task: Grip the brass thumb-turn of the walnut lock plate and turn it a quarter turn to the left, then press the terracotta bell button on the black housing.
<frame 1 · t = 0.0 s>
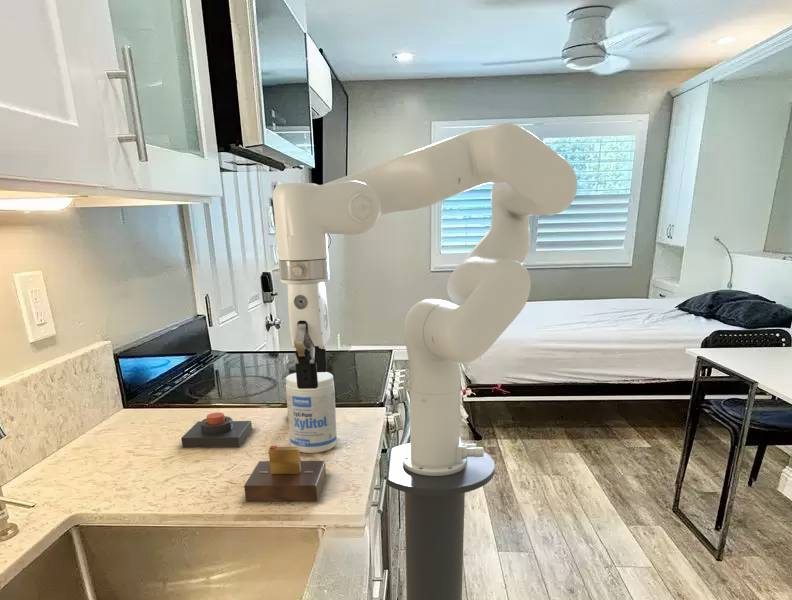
hand: (313, 379, 94), 19 cm above the worktop, tool pointing down, fingers open, 9 cm apart
bell button: (215, 419, 121), point 4 cm above the worktop, slide at 0.1 cm
thumb turn: (284, 459, 97), point 5 cm above the worktop, hinge at 0.0°
lock plate: (287, 488, 99), on the worktop
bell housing: (218, 438, 122), on the worktop
supplement tub: (314, 446, 117), on the worktop
supplement bottle: (303, 418, 134), on the worktop
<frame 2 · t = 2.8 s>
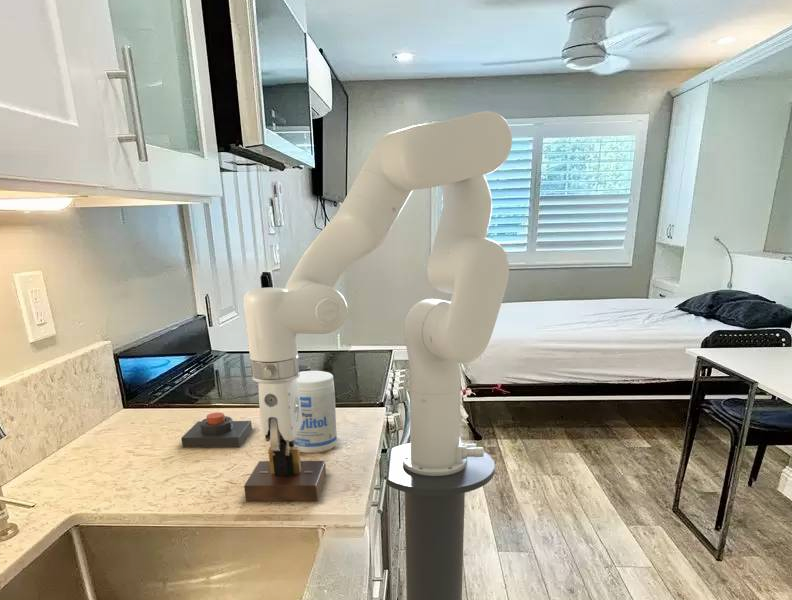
hand: (286, 471, 98), 3 cm above the worktop, tool pointing down, fingers closed
nothing on the worktop moved.
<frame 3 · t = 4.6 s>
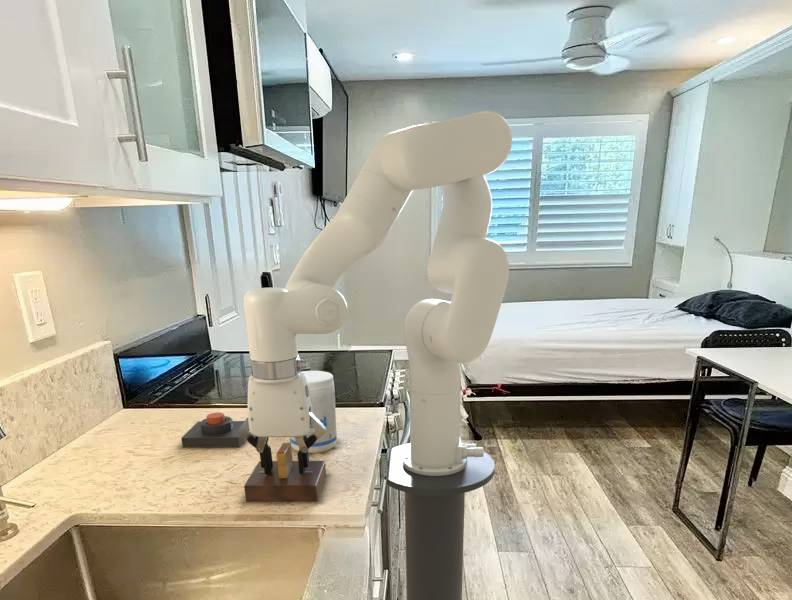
hand: (286, 470, 98), 3 cm above the worktop, tool pointing down, fingers open, 5 cm apart
thumb turn: (284, 459, 97), point 5 cm above the worktop, hinge at 89.7°
everything else where it was.
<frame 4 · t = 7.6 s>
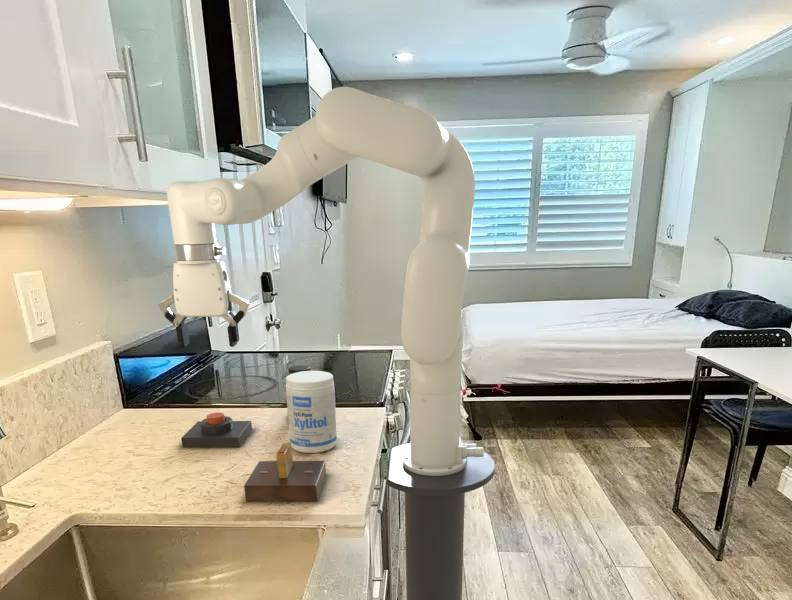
hand: (209, 345, 112), 21 cm above the worktop, tool pointing down, fingers open, 9 cm apart
nothing on the worktop moved.
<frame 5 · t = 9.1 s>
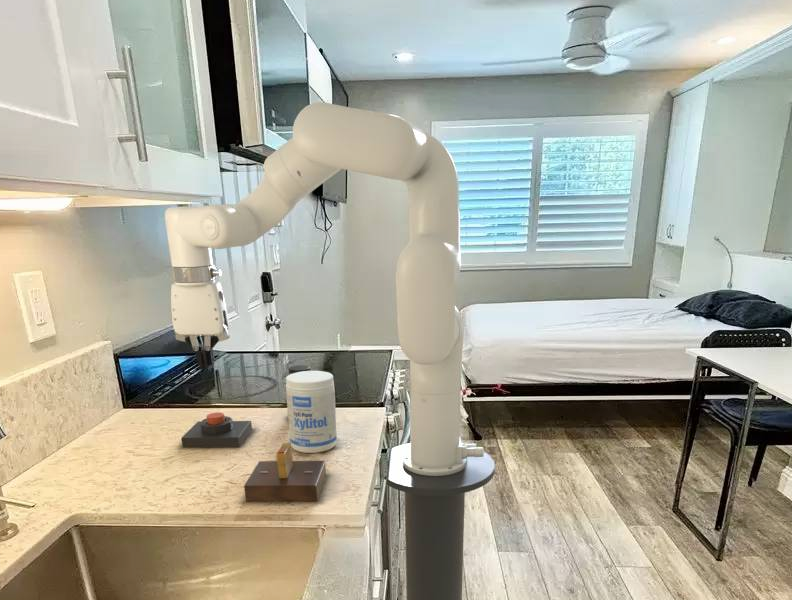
hand: (206, 368, 117), 15 cm above the worktop, tool pointing down, fingers closed
nothing on the worktop moved.
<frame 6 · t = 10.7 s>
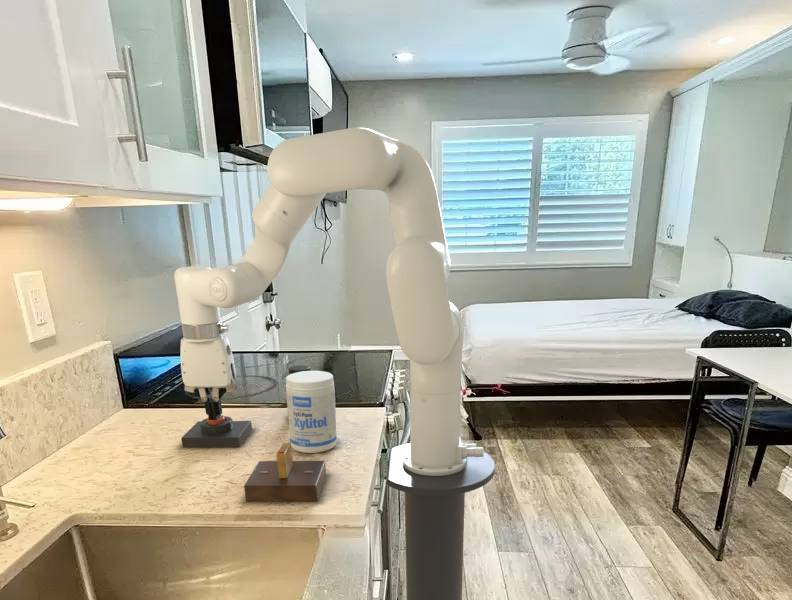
hand: (214, 417, 121), 5 cm above the worktop, tool pointing down, fingers closed
bell button: (216, 421, 121), point 4 cm above the worktop, slide at -0.5 cm, touching gripper
everything else where it was.
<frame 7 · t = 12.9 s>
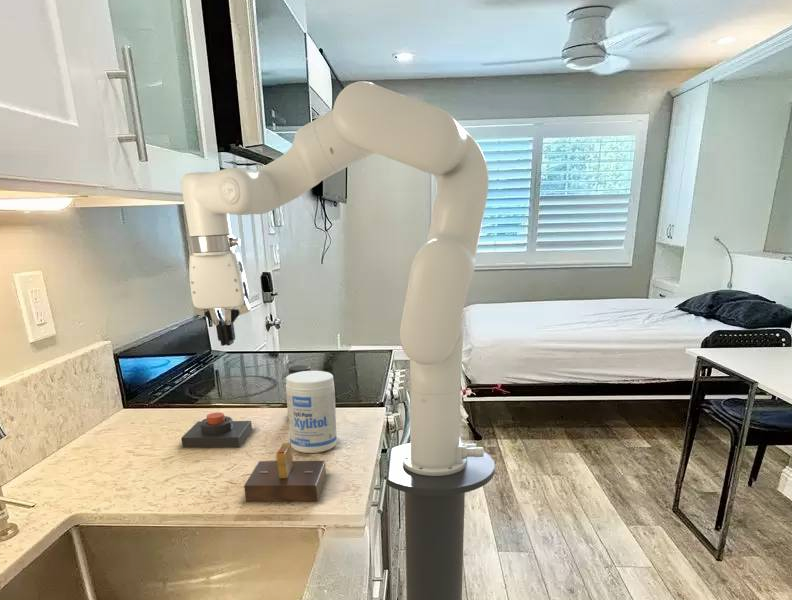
hand: (227, 344, 113), 21 cm above the worktop, tool pointing down, fingers closed
bell button: (215, 419, 121), point 4 cm above the worktop, slide at 0.1 cm
everything else where it was.
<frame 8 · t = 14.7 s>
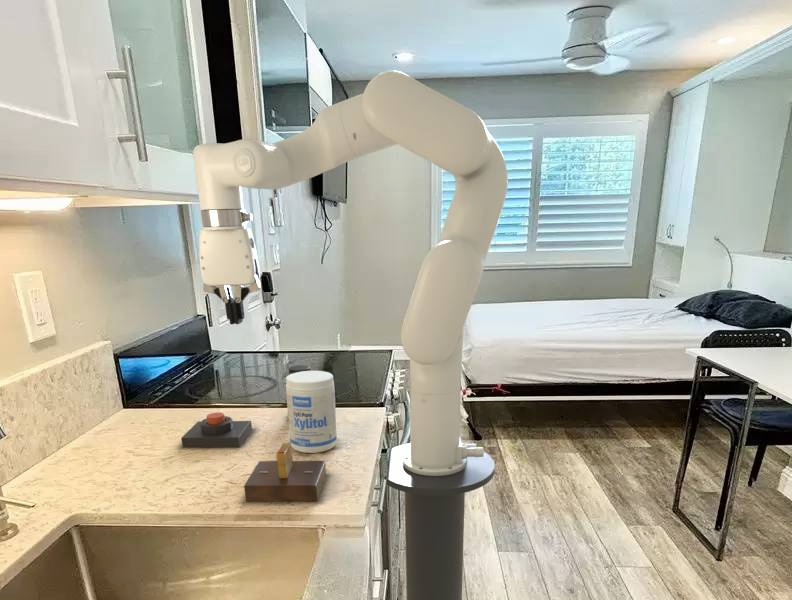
hand: (236, 322, 110), 25 cm above the worktop, tool pointing down, fingers closed
nothing on the worktop moved.
at the end: thumb turn at +90° (first picture: +0°); bell button pushed in 1.1 cm at the most during the clip, back to where it started at the end; bell button slide at 0.1 cm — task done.
